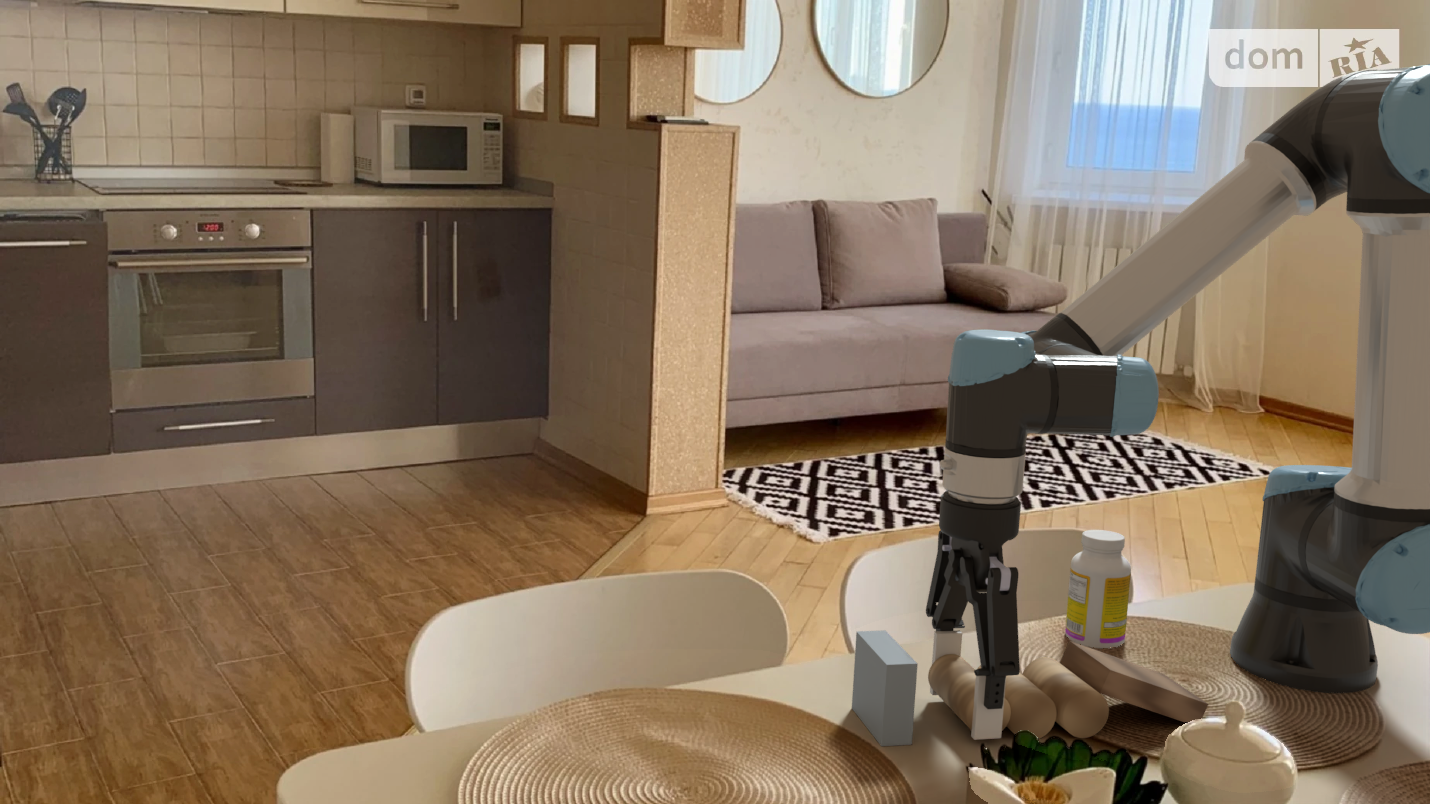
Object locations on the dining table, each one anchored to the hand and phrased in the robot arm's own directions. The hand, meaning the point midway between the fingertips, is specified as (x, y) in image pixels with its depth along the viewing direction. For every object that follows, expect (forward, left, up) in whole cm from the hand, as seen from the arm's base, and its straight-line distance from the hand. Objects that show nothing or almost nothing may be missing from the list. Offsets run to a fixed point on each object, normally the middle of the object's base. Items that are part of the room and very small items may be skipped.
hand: (964, 714), depth 138 cm
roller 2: (-3, 0, +3) cm, 5 cm away
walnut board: (-17, 0, +1) cm, 17 cm away
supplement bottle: (-24, -20, -1) cm, 31 cm away
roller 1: (0, 0, 0) cm, 0 cm away
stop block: (+9, 0, -1) cm, 9 cm away
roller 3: (-11, +1, +4) cm, 12 cm away
